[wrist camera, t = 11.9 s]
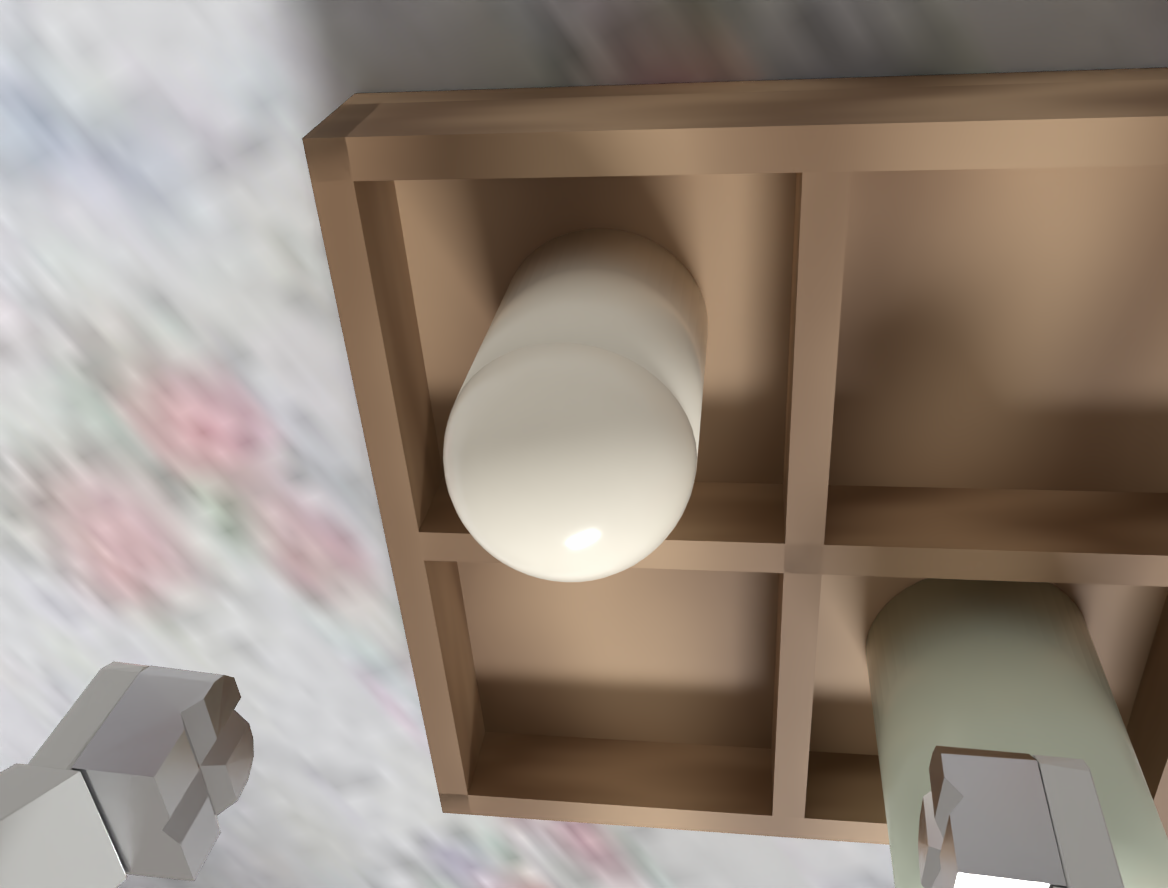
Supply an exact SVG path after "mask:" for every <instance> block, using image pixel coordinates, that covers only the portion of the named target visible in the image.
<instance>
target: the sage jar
mask: <svg viewBox="0 0 1168 888" xmlns="http://www.w3.org/2000/svg"><path fill="white" fill-rule="evenodd" d="M866 661H867V669H868V677H869V685H870V693H871V700H872V708H873V716H874V724H875V732H876V740H877V748H878V756H879V764H880V772H881V780H882V788H883V796H884V804H885V811H886V819H887V827H888V835H889V843H890V851H891V859H892V867H893V875H894V883H895V888H924V887H923V886H922V885H921V880H920V869H919V854H918V835H919V819H920V812H921V806H922V800H923V796H924V795H926V794H927V793H929V792H930V791H931V784H930V775H929V766H930V761H931V757H932V753H933V751H934V749H935V747H936V746H947V747H958V748H970V749H981V750H992V751H1003V752H1015V753H1026V754H1030V755H1031V756H1032V755H1042V756H1052V757H1063V758H1073V759H1083V760H1084V761H1085V763H1086V764H1087V765H1088V766H1089V768H1090V771H1091V774H1092V777H1093V781H1094V784H1095V788H1096V791H1097V795H1098V798H1099V801H1100V805H1101V808H1102V812H1103V815H1104V819H1105V822H1106V825H1107V829H1108V832H1109V836H1110V839H1111V843H1112V846H1113V849H1114V853H1115V856H1116V860H1117V863H1118V867H1119V870H1120V873H1121V877H1122V880H1123V884H1124V887H1125V888H1168V838H1167V835H1166V833H1165V830H1164V828H1163V825H1162V822H1161V820H1160V817H1159V814H1158V812H1157V809H1156V807H1155V804H1154V801H1153V799H1152V796H1151V793H1150V791H1149V788H1148V786H1147V783H1146V780H1145V778H1144V775H1143V772H1142V770H1141V767H1140V765H1139V762H1138V759H1137V757H1136V754H1135V751H1134V749H1133V746H1132V744H1131V741H1130V738H1129V736H1128V733H1127V730H1126V728H1125V725H1124V723H1123V720H1122V717H1121V715H1120V712H1119V709H1118V707H1117V704H1116V702H1115V699H1114V696H1113V694H1112V691H1111V688H1110V686H1109V683H1108V681H1107V678H1106V675H1105V673H1104V670H1103V667H1102V665H1101V662H1100V660H1099V657H1098V654H1097V652H1096V649H1095V646H1094V644H1093V641H1092V639H1091V636H1090V633H1089V631H1088V628H1087V625H1086V623H1085V620H1084V618H1083V615H1082V613H1081V612H1080V610H1079V609H1078V607H1077V605H1076V604H1075V603H1074V602H1073V601H1072V600H1071V599H1070V598H1069V596H1067V595H1066V594H1065V593H1064V592H1062V591H1061V590H1060V589H1059V588H1057V587H1056V586H1054V585H1052V584H1051V583H1047V582H1019V581H991V580H963V579H935V578H926V579H924V580H921V581H919V582H917V583H915V584H913V585H912V586H910V587H908V588H906V589H905V590H903V591H902V592H900V593H899V594H898V595H896V596H895V597H894V598H893V599H892V600H890V601H889V602H888V603H887V604H886V605H885V606H884V607H883V609H882V610H881V611H880V612H879V613H878V615H877V617H876V618H875V620H874V621H873V623H872V625H871V628H870V630H869V632H868V636H867V641H866Z"/></svg>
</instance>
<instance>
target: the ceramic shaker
mask: <svg viewBox="0 0 1168 888" xmlns="http://www.w3.org/2000/svg"><path fill="white" fill-rule="evenodd" d="M707 337H708V317H707V311H706V306H705V302H704V299H703V297H702V294H701V291H700V289H699V287H698V285H697V284H696V282H695V280H694V278H693V277H692V275H691V274H690V273H689V271H688V270H687V269H686V267H685V266H684V265H683V264H682V263H681V262H680V261H679V260H678V259H677V258H676V257H675V256H673V255H672V254H671V253H670V252H668V251H667V250H666V249H665V248H663V247H661V246H660V245H658V244H656V243H655V242H653V241H651V240H648V239H646V238H644V237H642V236H639V235H636V234H633V233H629V232H626V231H620V230H614V229H599V228H598V229H585V230H580V231H575V232H570V233H568V234H565V235H562V236H559V237H557V238H555V239H553V240H551V241H549V242H547V243H545V244H544V245H542V246H541V247H539V248H538V249H536V250H535V251H534V252H533V253H532V254H531V255H530V256H529V257H528V258H526V260H525V261H524V262H523V263H522V264H521V266H520V267H519V268H518V270H517V271H516V273H515V275H514V276H513V278H512V280H511V282H510V284H509V286H508V288H507V291H506V293H505V295H504V297H503V299H502V301H501V303H500V306H499V308H498V310H497V312H496V314H495V316H494V319H493V321H492V323H491V325H490V327H489V329H488V331H487V334H486V336H485V338H484V340H483V342H482V344H481V346H480V349H479V351H478V353H477V355H476V357H475V359H474V362H473V364H472V366H471V368H470V370H469V372H468V374H467V377H466V379H465V381H464V383H463V385H462V387H461V389H460V392H459V394H458V396H457V398H456V400H455V403H454V405H453V408H452V410H451V413H450V416H449V419H448V422H447V427H446V431H445V436H444V449H443V464H444V473H445V480H446V484H447V488H448V492H449V495H450V498H451V500H452V503H453V505H454V508H455V510H456V512H457V514H458V516H459V518H460V519H461V521H462V523H463V525H464V526H465V527H466V529H467V530H468V531H469V533H470V534H471V535H472V536H473V538H474V539H475V540H476V541H477V542H478V543H479V544H480V545H481V546H482V547H483V548H484V549H485V550H486V551H487V552H488V553H489V554H491V555H492V556H493V557H494V558H496V559H497V560H499V561H500V562H502V563H503V564H505V565H507V566H509V567H511V568H513V569H515V570H517V571H519V572H522V573H524V574H527V575H529V576H533V577H536V578H540V579H544V580H550V581H557V582H585V581H593V580H597V579H601V578H605V577H608V576H611V575H613V574H616V573H619V572H621V571H624V570H626V569H628V568H630V567H632V566H634V565H635V564H637V563H638V562H640V561H641V560H643V559H644V558H645V557H647V556H648V555H649V554H651V553H652V552H653V551H654V550H655V549H656V548H657V547H659V546H660V545H661V544H662V543H663V541H664V540H665V539H666V538H667V537H668V535H669V534H670V533H671V532H672V530H673V529H674V528H675V526H676V525H677V523H678V521H679V520H680V518H681V516H682V515H683V513H684V510H685V508H686V506H687V503H688V501H689V499H690V496H691V493H692V489H693V485H694V480H695V475H696V469H697V457H698V445H699V433H700V421H701V409H702V397H703V385H704V373H705V361H706V349H707Z"/></svg>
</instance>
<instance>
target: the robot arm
mask: <svg viewBox="0 0 1168 888" xmlns="http://www.w3.org/2000/svg"><path fill="white" fill-rule="evenodd" d="M240 698H241V696H240V693H239V690H238V687H237V685H236V682H235V679H234V678H233V677H230V676H226V675H220V674H212V673H204V672H197V671H189V670H181V669H173V668H165V667H158V666H146V665H138V664H129V663H121V662H112V663H110V664H109V665H107V666H105V667H103V668H102V669H101V670H100V671H99V672H98V673H97V674H96V676H95V677H94V678H93V680H92V681H91V682H90V684H89V685H88V686H87V687H86V689H85V690H84V691H83V693H82V694H81V695H80V697H79V698H78V699H77V701H76V702H75V703H74V704H73V706H72V707H71V708H70V710H69V711H68V712H67V714H66V715H65V716H64V718H63V719H62V720H61V721H60V723H59V724H58V725H57V727H56V728H55V729H54V731H53V732H52V733H51V735H50V736H49V737H48V738H47V740H46V741H45V742H44V744H43V745H42V746H41V748H40V749H39V750H38V752H37V753H36V754H35V755H34V757H33V758H32V759H31V761H30V762H29V763H28V764H17V763H16V764H14V765H13V766H11V767H9V768H8V769H6V770H4V771H2V772H1V773H0V888H116V887H117V886H119V885H120V884H121V883H122V882H123V881H125V880H126V879H127V875H126V874H131V875H141V876H150V877H160V878H169V879H179V880H188V881H195V879H196V877H197V876H198V874H199V872H200V870H201V868H202V866H203V864H204V863H205V861H206V859H207V857H208V855H209V853H210V851H211V850H212V848H213V846H214V844H215V842H216V840H217V838H218V837H219V835H220V828H219V823H218V819H217V815H218V814H220V813H221V812H223V811H224V810H225V809H227V808H228V807H230V806H231V805H233V804H234V803H235V802H237V801H238V799H239V797H240V795H241V793H242V791H243V789H244V787H245V785H246V783H247V781H248V778H249V774H250V769H251V765H252V761H253V757H254V751H253V736H252V732H251V729H250V725H249V723H248V722H247V721H246V720H245V719H244V718H243V717H241V716H240V715H239V714H238V713H237V712H236V711H235V710H234V709H235V707H236V705H237V703H238V702H239V700H240ZM929 775H930V784H931V791H930V792H929V793H927V794H926V795H924V796H923V800H922V806H921V812H920V819H919V835H918V854H919V869H920V880H921V885H922V886H923V887H924V888H1125V887H1124V884H1123V880H1122V877H1121V873H1120V870H1119V867H1118V863H1117V860H1116V856H1115V853H1114V849H1113V846H1112V843H1111V839H1110V836H1109V832H1108V829H1107V825H1106V822H1105V819H1104V815H1103V812H1102V808H1101V805H1100V801H1099V798H1098V795H1097V791H1096V788H1095V784H1094V781H1093V777H1092V774H1091V771H1090V768H1089V766H1088V765H1087V764H1086V763H1085V761H1084V760H1083V759H1073V758H1063V757H1052V756H1042V755H1032V756H1031V755H1030V754H1026V753H1015V752H1003V751H992V750H981V749H970V748H958V747H947V746H936V747H935V749H934V751H933V753H932V757H931V761H930V766H929Z"/></svg>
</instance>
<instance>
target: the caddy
mask: <svg viewBox="0 0 1168 888" xmlns="http://www.w3.org/2000/svg"><path fill="white" fill-rule="evenodd" d="M302 140H303V144H304V149H305V154H306V159H307V164H308V168H309V173H310V178H311V183H312V188H313V192H314V197H315V202H316V207H317V212H318V216H319V221H320V226H321V231H322V236H323V240H324V245H325V250H326V255H327V260H328V264H329V269H330V274H331V279H332V284H333V288H334V293H335V298H336V303H337V308H338V312H339V317H340V322H341V327H342V332H343V336H344V341H345V346H346V351H347V356H348V360H349V365H350V370H351V375H352V380H353V384H354V389H355V394H356V399H357V404H358V408H359V413H360V418H361V423H362V428H363V432H364V437H365V442H366V447H367V452H368V456H369V461H370V466H371V471H372V475H373V480H374V485H375V490H376V495H377V499H378V504H379V509H380V514H381V519H382V523H383V528H384V533H385V538H386V543H387V547H388V552H389V557H390V562H391V567H392V571H393V576H394V581H395V586H396V591H397V595H398V600H399V605H400V610H401V615H402V619H403V624H404V629H405V634H406V639H407V643H408V648H409V653H410V658H411V663H412V667H413V672H414V677H415V682H416V687H417V691H418V696H419V701H420V706H421V711H422V715H423V720H424V725H425V730H426V735H427V739H428V744H429V749H430V754H431V759H432V763H433V768H434V773H435V778H436V783H437V787H438V792H439V797H440V802H441V807H442V811H443V813H456V814H469V815H483V816H497V817H511V818H525V819H539V820H553V821H567V822H581V823H595V824H609V825H623V826H637V827H651V828H665V829H679V830H693V831H707V832H721V833H735V834H749V835H763V836H777V837H791V838H805V839H819V840H833V841H847V842H861V843H875V844H888V845H890V843H889V835H888V827H887V819H886V811H885V804H884V796H883V788H882V780H881V772H880V764H879V756H878V748H877V740H876V732H875V724H874V716H873V708H872V700H871V693H870V685H869V677H868V669H867V661H866V641H867V636H868V632H869V630H870V628H871V625H872V623H873V621H874V620H875V618H876V617H877V615H878V613H879V612H880V611H881V610H882V609H883V607H884V606H885V605H886V604H887V603H888V602H889V601H890V600H892V599H893V598H894V597H895V596H896V595H898V594H899V593H900V592H902V591H903V590H905V589H906V588H908V587H910V586H912V585H913V584H915V583H917V582H919V581H921V580H924V579H926V578H935V579H963V580H991V581H1019V582H1047V583H1051V584H1052V585H1054V586H1056V587H1057V588H1059V589H1060V590H1061V591H1062V592H1064V593H1065V594H1066V595H1067V596H1069V598H1070V599H1071V600H1072V601H1073V602H1074V603H1075V604H1076V605H1077V607H1078V609H1079V610H1080V612H1081V613H1082V615H1083V618H1084V620H1085V623H1086V625H1087V628H1088V631H1089V633H1090V636H1091V639H1092V641H1093V644H1094V646H1095V649H1096V652H1097V654H1098V657H1099V660H1100V662H1101V665H1102V667H1103V670H1104V673H1105V675H1106V678H1107V681H1108V683H1109V686H1110V688H1111V691H1112V694H1113V696H1114V699H1115V702H1116V704H1117V707H1118V709H1119V712H1120V715H1121V717H1122V720H1123V723H1124V725H1125V728H1126V730H1127V733H1128V736H1129V738H1130V741H1131V744H1132V746H1133V749H1134V751H1135V754H1136V757H1137V759H1138V762H1139V765H1140V767H1141V770H1142V772H1143V775H1144V778H1145V780H1146V783H1147V786H1148V788H1149V791H1150V793H1151V796H1152V799H1153V801H1154V804H1155V807H1156V809H1157V812H1158V814H1159V817H1160V820H1161V822H1162V825H1163V828H1164V830H1165V833H1166V835H1167V838H1168V68H1138V69H1107V70H1076V71H1044V72H1013V73H982V74H951V75H920V76H888V77H857V78H826V79H795V80H763V81H732V82H701V83H670V84H639V85H607V86H576V87H545V88H514V89H482V90H451V91H420V92H389V93H357V94H354V95H353V96H351V97H350V98H349V99H348V100H347V101H346V102H344V103H343V104H342V105H341V106H340V107H339V108H337V109H336V110H335V111H334V112H333V113H331V114H330V115H329V116H328V117H327V118H326V119H324V120H323V121H322V122H321V123H320V124H319V125H317V126H316V127H315V128H314V129H313V130H312V131H310V132H309V133H308V134H307V135H306V136H304V137H303V138H302ZM598 228H599V229H614V230H620V231H626V232H629V233H633V234H636V235H639V236H642V237H644V238H646V239H648V240H651V241H653V242H655V243H656V244H658V245H660V246H661V247H663V248H665V249H666V250H667V251H668V252H670V253H671V254H672V255H673V256H675V257H676V258H677V259H678V260H679V261H680V262H681V263H682V264H683V265H684V266H685V267H686V269H687V270H688V271H689V273H690V274H691V275H692V277H693V278H694V280H695V282H696V284H697V285H698V287H699V289H700V291H701V294H702V297H703V299H704V302H705V306H706V311H707V317H708V337H707V349H706V361H705V373H704V385H703V397H702V409H701V421H700V433H699V445H698V457H697V469H696V475H695V480H694V485H693V489H692V493H691V496H690V499H689V501H688V503H687V506H686V508H685V510H684V513H683V515H682V516H681V518H680V520H679V521H678V523H677V525H676V526H675V528H674V529H673V530H672V532H671V533H670V534H669V535H668V537H667V538H666V539H665V540H664V541H663V543H662V544H661V545H660V546H659V547H657V548H656V549H655V550H654V551H653V552H652V553H651V554H649V555H648V556H647V557H645V558H644V559H643V560H641V561H640V562H638V563H637V564H635V565H634V566H632V567H630V568H628V569H626V570H624V571H621V572H619V573H616V574H613V575H611V576H608V577H605V578H601V579H597V580H593V581H585V582H557V581H550V580H544V579H540V578H536V577H533V576H529V575H527V574H524V573H522V572H519V571H517V570H515V569H513V568H511V567H509V566H507V565H505V564H503V563H502V562H500V561H499V560H497V559H496V558H494V557H493V556H492V555H491V554H489V553H488V552H487V551H486V550H485V549H484V548H483V547H482V546H481V545H480V544H479V543H478V542H477V541H476V540H475V539H474V538H473V536H472V535H471V534H470V533H469V531H468V530H467V529H466V527H465V526H464V525H463V523H462V521H461V519H460V518H459V516H458V514H457V512H456V510H455V508H454V505H453V503H452V500H451V498H450V495H449V492H448V488H447V484H446V480H445V473H444V464H443V449H444V436H445V431H446V427H447V422H448V419H449V416H450V413H451V410H452V408H453V405H454V403H455V400H456V398H457V396H458V394H459V392H460V389H461V387H462V385H463V383H464V381H465V379H466V377H467V374H468V372H469V370H470V368H471V366H472V364H473V362H474V359H475V357H476V355H477V353H478V351H479V349H480V346H481V344H482V342H483V340H484V338H485V336H486V334H487V331H488V329H489V327H490V325H491V323H492V321H493V319H494V316H495V314H496V312H497V310H498V308H499V306H500V303H501V301H502V299H503V297H504V295H505V293H506V291H507V288H508V286H509V284H510V282H511V280H512V278H513V276H514V275H515V273H516V271H517V270H518V268H519V267H520V266H521V264H522V263H523V262H524V261H525V260H526V258H528V257H529V256H530V255H531V254H532V253H533V252H534V251H535V250H536V249H538V248H539V247H541V246H542V245H544V244H545V243H547V242H549V241H551V240H553V239H555V238H557V237H559V236H562V235H565V234H568V233H570V232H575V231H580V230H585V229H598Z"/></svg>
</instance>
